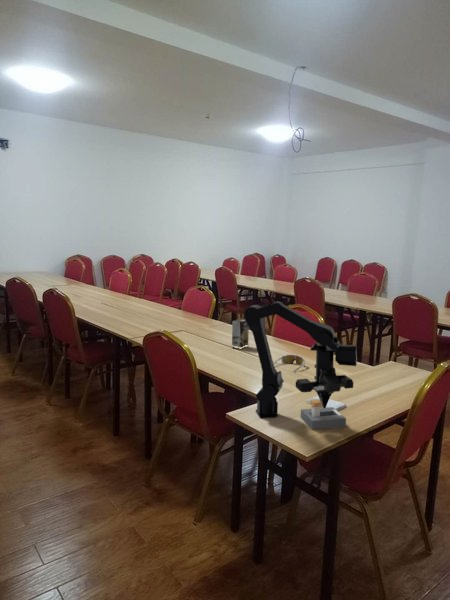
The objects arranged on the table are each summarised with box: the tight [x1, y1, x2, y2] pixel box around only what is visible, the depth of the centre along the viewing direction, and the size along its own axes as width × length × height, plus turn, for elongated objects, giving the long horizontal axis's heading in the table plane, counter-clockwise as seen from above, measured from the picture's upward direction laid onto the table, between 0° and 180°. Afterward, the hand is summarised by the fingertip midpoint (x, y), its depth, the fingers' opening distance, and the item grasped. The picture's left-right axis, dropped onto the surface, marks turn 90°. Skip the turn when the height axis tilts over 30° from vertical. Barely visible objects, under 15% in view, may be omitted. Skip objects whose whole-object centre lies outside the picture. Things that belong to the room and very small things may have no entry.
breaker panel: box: [300, 407, 347, 431], centre depth 148 cm, size 12×10×3 cm
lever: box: [309, 399, 322, 417], centre depth 147 cm, size 3×3×6 cm
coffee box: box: [231, 318, 250, 347], centre depth 252 cm, size 9×6×16 cm
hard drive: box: [305, 395, 347, 411], centre depth 165 cm, size 2×8×12 cm
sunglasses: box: [273, 353, 306, 373], centre depth 215 cm, size 14×15×5 cm
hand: (324, 407), depth 148 cm, fingers closed
